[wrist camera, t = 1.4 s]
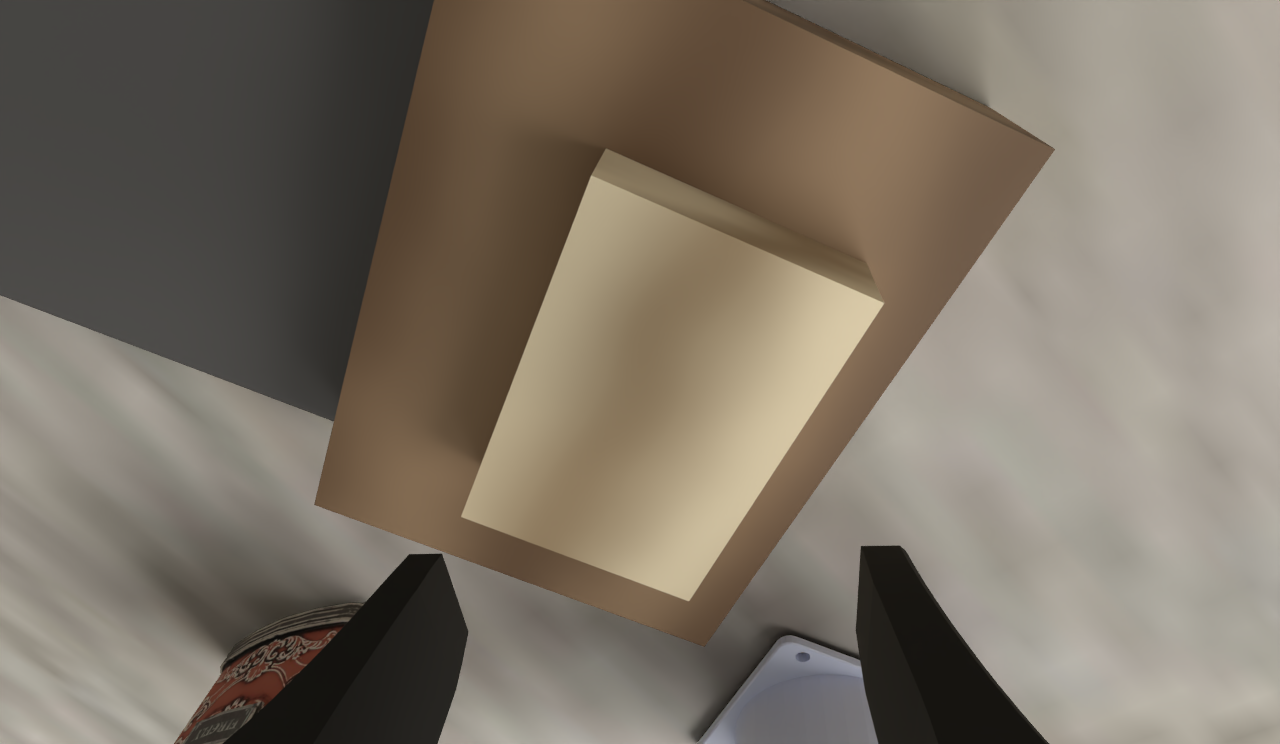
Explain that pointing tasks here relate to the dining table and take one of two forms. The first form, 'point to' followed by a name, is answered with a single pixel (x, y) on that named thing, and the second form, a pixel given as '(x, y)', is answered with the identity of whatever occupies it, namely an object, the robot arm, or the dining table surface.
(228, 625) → the dining table surface
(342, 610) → the lighter
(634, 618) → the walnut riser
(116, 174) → the rubber mat
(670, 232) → the birch tile
